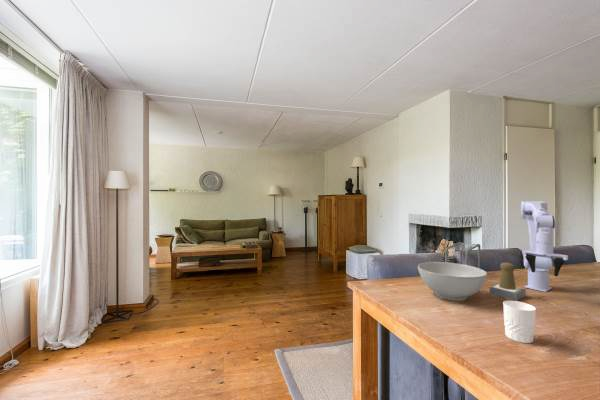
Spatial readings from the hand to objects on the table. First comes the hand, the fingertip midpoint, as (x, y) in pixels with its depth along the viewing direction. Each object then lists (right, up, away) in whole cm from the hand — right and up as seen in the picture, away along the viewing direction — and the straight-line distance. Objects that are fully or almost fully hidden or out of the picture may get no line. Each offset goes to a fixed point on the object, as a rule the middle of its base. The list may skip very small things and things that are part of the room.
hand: (544, 273), depth 117 cm
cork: (-14, -7, +3) cm, 16 cm away
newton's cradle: (-17, -11, +31) cm, 37 cm away
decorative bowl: (-40, -11, +2) cm, 41 cm away
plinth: (-14, -10, +3) cm, 17 cm away
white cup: (-39, -10, -34) cm, 53 cm away
